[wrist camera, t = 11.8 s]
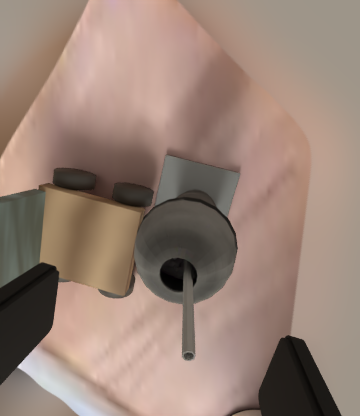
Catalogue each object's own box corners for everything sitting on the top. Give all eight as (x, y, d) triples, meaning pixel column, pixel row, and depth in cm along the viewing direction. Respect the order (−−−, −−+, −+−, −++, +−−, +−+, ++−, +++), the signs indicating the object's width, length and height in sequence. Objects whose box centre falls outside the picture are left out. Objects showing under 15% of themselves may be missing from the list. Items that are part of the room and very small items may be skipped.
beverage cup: (187, 164, 27) (130, 204, 8) (239, 201, 27) (310, 330, 8) (153, 214, 29) (39, 346, 10) (202, 248, 29) (186, 443, 10)
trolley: (157, 189, 29) (119, 219, 17) (137, 282, 32) (94, 361, 20) (67, 166, 29) (-31, 178, 17) (57, 259, 33) (-31, 322, 21)
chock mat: (239, 173, 27) (240, 173, 26) (215, 251, 30) (215, 253, 29) (166, 154, 28) (165, 154, 27) (149, 233, 30) (148, 235, 30)
